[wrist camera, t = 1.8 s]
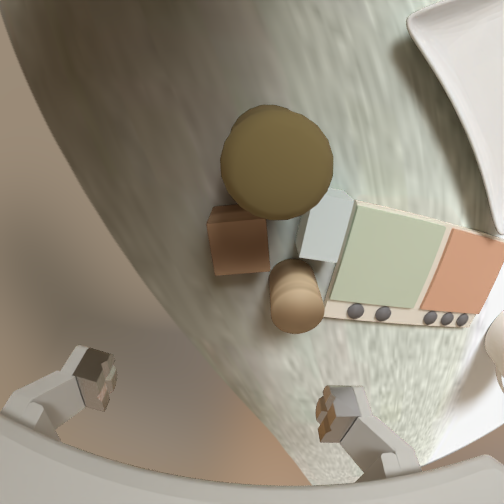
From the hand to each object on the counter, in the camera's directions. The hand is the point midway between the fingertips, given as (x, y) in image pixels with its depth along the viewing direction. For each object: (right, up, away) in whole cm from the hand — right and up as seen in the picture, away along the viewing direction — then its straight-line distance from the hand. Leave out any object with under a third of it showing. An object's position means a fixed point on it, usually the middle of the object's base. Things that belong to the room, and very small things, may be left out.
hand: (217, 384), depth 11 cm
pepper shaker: (+3, +13, +12) cm, 18 cm away
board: (+18, +3, +16) cm, 24 cm away
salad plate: (+26, +21, +8) cm, 35 cm away
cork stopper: (+5, +3, +16) cm, 17 cm away
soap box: (+7, +8, +14) cm, 18 cm away
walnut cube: (0, +7, +15) cm, 16 cm away
